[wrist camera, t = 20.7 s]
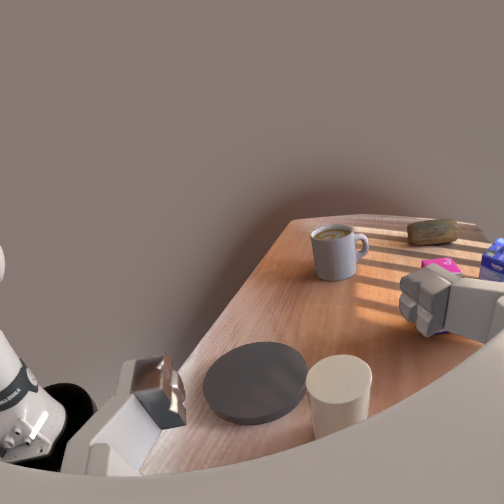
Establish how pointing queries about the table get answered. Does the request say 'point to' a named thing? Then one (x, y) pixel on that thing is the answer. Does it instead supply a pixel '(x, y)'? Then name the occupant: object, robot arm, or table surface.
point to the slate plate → (256, 383)
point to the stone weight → (432, 232)
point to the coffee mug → (336, 251)
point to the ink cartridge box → (493, 263)
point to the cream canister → (338, 393)
